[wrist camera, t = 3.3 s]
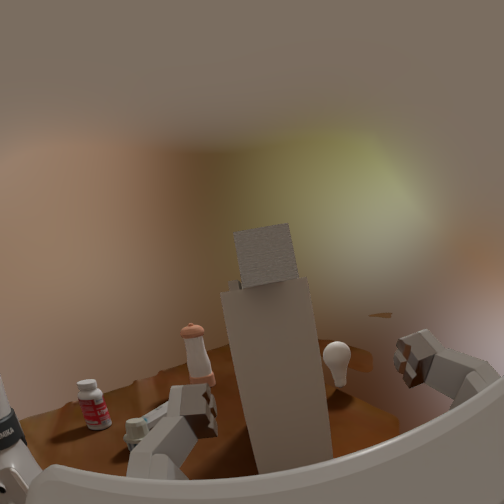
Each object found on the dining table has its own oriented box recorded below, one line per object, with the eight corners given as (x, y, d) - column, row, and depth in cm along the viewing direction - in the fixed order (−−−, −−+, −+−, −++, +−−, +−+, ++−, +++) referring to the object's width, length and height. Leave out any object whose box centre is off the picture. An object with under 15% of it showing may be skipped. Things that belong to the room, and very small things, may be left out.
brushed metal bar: (298, 277, 20) (287, 222, 21) (243, 288, 20) (233, 232, 20) (269, 284, 48) (264, 261, 48) (245, 289, 48) (241, 265, 48)
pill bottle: (106, 431, 45) (91, 385, 46) (83, 430, 44) (69, 385, 46) (115, 420, 51) (102, 377, 53) (94, 420, 50) (81, 378, 52)
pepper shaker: (210, 389, 72) (196, 323, 74) (187, 389, 74) (173, 326, 76) (219, 380, 79) (206, 319, 81) (198, 381, 81) (185, 322, 83)
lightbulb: (356, 388, 53) (351, 341, 54) (329, 394, 54) (322, 348, 55) (351, 379, 59) (346, 336, 60) (326, 385, 60) (320, 342, 61)
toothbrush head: (194, 391, 61) (135, 421, 37) (199, 416, 59) (144, 455, 36) (175, 391, 62) (112, 418, 38) (180, 416, 60) (121, 450, 36)
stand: (334, 476, 26) (301, 248, 29) (263, 491, 25) (214, 263, 29) (299, 404, 52) (275, 268, 56) (256, 413, 52) (230, 276, 55)
